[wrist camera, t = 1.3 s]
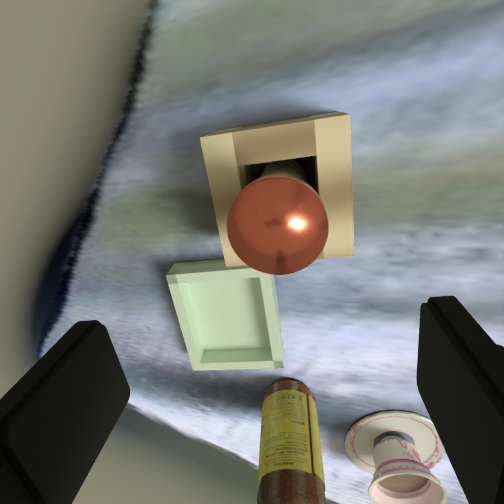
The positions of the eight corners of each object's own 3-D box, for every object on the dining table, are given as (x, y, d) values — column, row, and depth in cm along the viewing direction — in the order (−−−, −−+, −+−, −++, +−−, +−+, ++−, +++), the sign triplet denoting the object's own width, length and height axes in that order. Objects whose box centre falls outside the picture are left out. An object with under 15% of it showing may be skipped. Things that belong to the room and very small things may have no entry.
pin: (247, 153, 28) (218, 186, 17) (312, 144, 28) (325, 172, 17) (256, 214, 31) (235, 278, 20) (317, 208, 30) (331, 270, 19)
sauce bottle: (253, 395, 40) (221, 630, 22) (287, 367, 38) (282, 606, 20) (293, 422, 42) (293, 666, 24) (329, 397, 39) (358, 648, 21)
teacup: (325, 446, 43) (330, 498, 37) (386, 393, 38) (402, 443, 33) (399, 484, 44) (414, 540, 39) (467, 437, 40) (495, 493, 34)
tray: (174, 263, 34) (165, 275, 32) (270, 254, 32) (269, 266, 30) (199, 354, 39) (193, 370, 36) (284, 350, 37) (283, 367, 35)
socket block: (217, 130, 28) (199, 137, 23) (338, 111, 26) (350, 114, 21) (237, 238, 32) (226, 267, 26) (343, 228, 30) (354, 256, 25)
